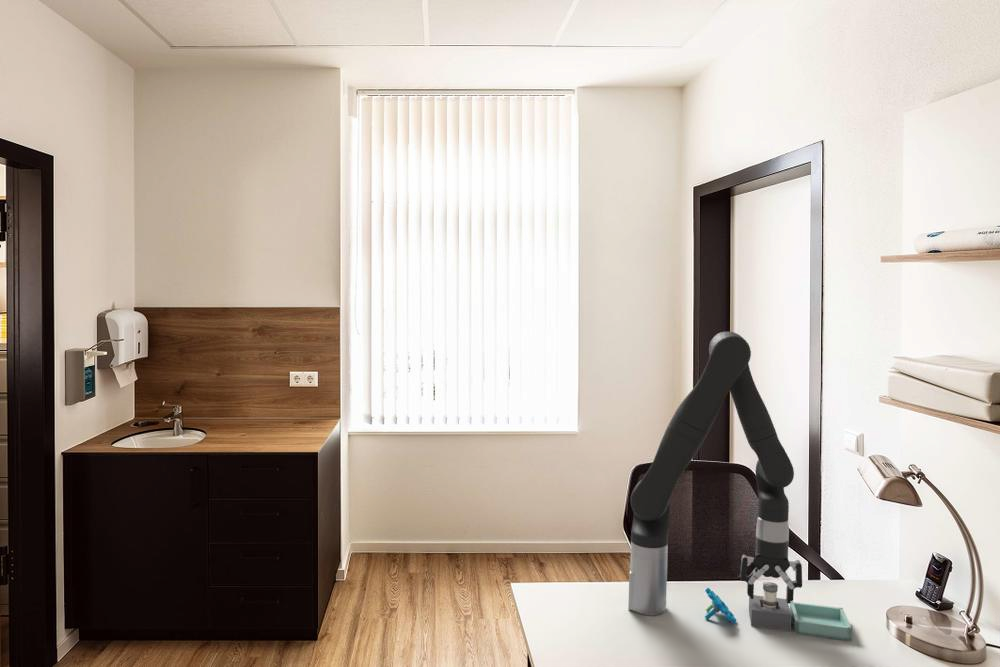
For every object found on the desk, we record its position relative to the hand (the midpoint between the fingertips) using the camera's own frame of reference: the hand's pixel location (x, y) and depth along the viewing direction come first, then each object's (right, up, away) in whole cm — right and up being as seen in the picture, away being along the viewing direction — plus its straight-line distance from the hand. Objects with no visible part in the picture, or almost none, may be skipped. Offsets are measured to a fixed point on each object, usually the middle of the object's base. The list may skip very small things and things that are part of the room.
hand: (769, 599), depth 176 cm
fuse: (0, -5, 0) cm, 5 cm away
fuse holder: (0, -5, 0) cm, 5 cm away
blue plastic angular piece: (-12, -5, +1) cm, 13 cm away
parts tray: (+11, -6, -3) cm, 13 cm away
